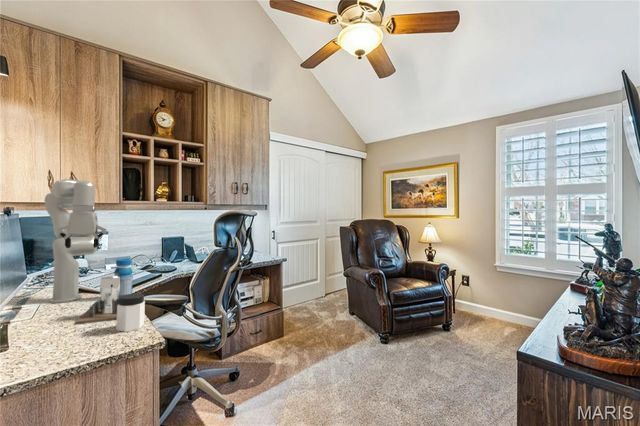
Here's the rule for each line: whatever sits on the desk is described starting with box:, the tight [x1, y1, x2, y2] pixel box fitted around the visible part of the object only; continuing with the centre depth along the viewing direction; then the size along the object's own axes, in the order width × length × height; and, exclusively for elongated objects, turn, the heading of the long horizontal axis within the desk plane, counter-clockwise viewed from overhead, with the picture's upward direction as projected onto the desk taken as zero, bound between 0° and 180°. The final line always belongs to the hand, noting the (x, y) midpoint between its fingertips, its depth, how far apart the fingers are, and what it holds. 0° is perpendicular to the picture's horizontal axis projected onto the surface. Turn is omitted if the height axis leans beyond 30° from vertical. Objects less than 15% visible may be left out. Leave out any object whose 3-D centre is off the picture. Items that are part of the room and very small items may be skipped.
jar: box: [115, 293, 146, 333], centre depth 109 cm, size 9×8×12 cm
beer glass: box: [99, 275, 120, 314], centre depth 123 cm, size 7×7×15 cm
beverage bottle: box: [113, 258, 134, 299], centre depth 150 cm, size 8×8×20 cm
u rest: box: [74, 299, 119, 325], centre depth 124 cm, size 20×18×5 cm
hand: (82, 247), depth 128 cm, fingers open, 9 cm apart
